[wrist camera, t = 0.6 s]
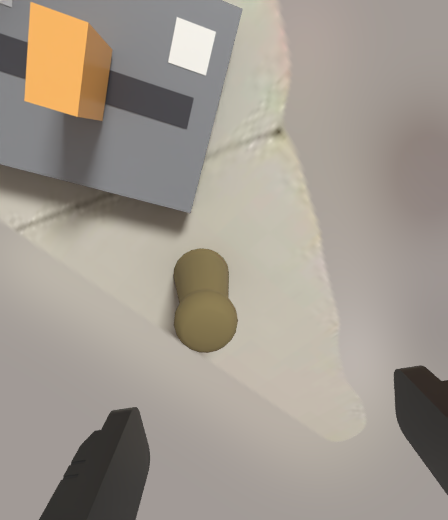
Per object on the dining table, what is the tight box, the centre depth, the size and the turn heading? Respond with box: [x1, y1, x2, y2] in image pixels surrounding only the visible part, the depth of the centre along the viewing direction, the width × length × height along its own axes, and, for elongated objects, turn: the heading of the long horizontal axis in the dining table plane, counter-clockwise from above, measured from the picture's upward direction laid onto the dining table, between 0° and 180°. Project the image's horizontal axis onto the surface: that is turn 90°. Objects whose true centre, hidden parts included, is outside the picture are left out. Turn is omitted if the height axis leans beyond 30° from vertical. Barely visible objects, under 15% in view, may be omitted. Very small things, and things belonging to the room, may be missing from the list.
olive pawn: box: [174, 249, 238, 353], centre depth 29 cm, size 6×6×11 cm
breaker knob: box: [24, 2, 112, 121], centre depth 21 cm, size 3×5×6 cm, turn 164°
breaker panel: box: [0, 0, 242, 213], centre depth 25 cm, size 20×16×3 cm
